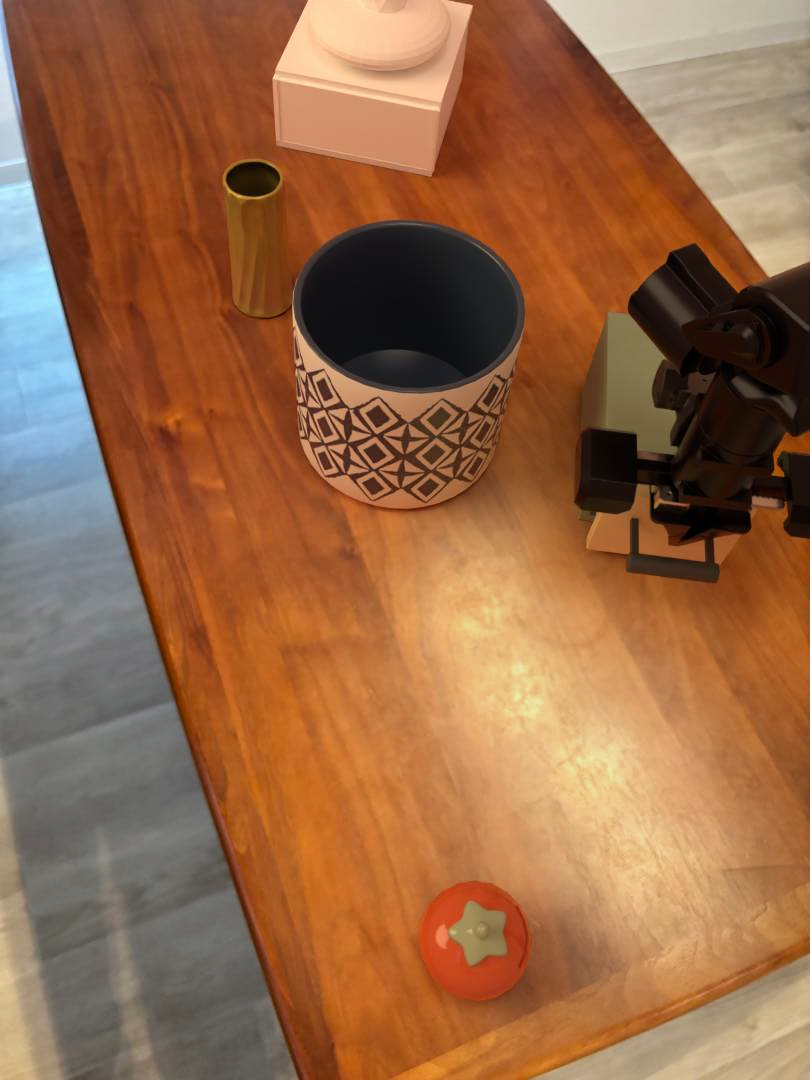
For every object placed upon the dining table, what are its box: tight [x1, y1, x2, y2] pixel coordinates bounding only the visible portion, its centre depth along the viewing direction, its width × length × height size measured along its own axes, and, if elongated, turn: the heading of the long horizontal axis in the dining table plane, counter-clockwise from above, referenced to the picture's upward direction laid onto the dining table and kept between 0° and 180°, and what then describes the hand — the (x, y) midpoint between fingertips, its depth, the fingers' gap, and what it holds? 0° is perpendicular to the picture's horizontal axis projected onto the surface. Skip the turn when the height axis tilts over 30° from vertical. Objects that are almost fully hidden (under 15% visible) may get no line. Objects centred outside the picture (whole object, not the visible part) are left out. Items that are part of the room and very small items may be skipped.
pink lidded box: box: [271, 0, 474, 178], centre depth 107 cm, size 18×18×16 cm
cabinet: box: [577, 311, 677, 522], centre depth 87 cm, size 15×13×11 cm
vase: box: [222, 158, 295, 319], centre depth 93 cm, size 6×6×14 cm
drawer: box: [585, 483, 758, 585], centre depth 84 cm, size 18×11×9 cm, turn 174°
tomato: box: [418, 880, 532, 1002], centre depth 66 cm, size 7×7×8 cm
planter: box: [291, 219, 527, 509], centre depth 85 cm, size 18×18×16 cm
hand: (672, 540), depth 80 cm, fingers closed
